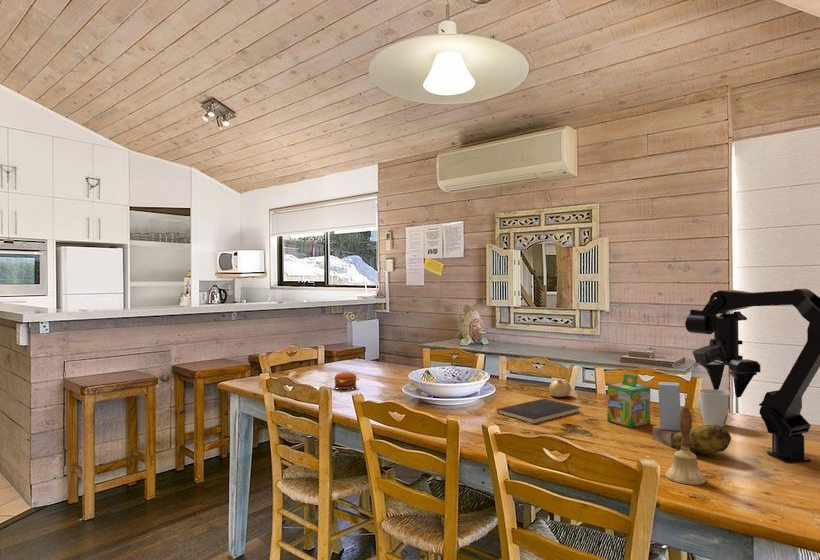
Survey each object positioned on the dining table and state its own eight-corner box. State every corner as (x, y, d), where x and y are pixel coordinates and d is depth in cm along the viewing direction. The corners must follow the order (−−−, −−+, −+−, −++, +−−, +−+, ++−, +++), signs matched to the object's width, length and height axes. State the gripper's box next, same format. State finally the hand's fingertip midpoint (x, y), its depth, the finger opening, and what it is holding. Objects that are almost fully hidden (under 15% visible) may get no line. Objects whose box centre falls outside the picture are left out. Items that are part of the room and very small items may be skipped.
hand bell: (692, 470, 122) (691, 402, 122) (714, 484, 114) (713, 411, 114) (657, 471, 122) (656, 403, 122) (677, 485, 113) (676, 412, 113)
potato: (689, 444, 140) (688, 415, 140) (737, 459, 129) (736, 427, 129) (667, 449, 137) (667, 419, 137) (715, 465, 125) (714, 431, 125)
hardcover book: (580, 413, 176) (580, 406, 176) (533, 425, 163) (533, 418, 163) (542, 404, 189) (542, 398, 189) (496, 415, 176) (496, 408, 176)
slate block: (681, 426, 144) (679, 382, 144) (680, 431, 140) (678, 385, 140) (661, 424, 146) (659, 381, 147) (660, 429, 142) (658, 384, 142)
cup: (734, 429, 153) (734, 395, 153) (704, 428, 155) (704, 394, 155) (724, 421, 161) (723, 389, 161) (695, 420, 163) (694, 388, 163)
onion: (545, 395, 202) (545, 376, 202) (565, 393, 203) (564, 375, 203) (555, 399, 194) (554, 380, 194) (575, 398, 195) (574, 379, 195)
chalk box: (606, 421, 164) (605, 374, 164) (625, 417, 168) (625, 371, 168) (632, 428, 156) (631, 379, 156) (651, 424, 160) (651, 375, 160)
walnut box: (693, 446, 140) (693, 431, 140) (671, 448, 138) (670, 433, 138) (674, 438, 147) (674, 424, 147) (652, 440, 145) (652, 426, 145)
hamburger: (342, 391, 214) (342, 375, 214) (330, 388, 221) (329, 372, 221) (361, 388, 220) (361, 372, 220) (349, 384, 227) (348, 369, 227)
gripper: (678, 333, 152) (678, 386, 152) (719, 340, 133) (720, 402, 133) (715, 332, 152) (716, 386, 152) (761, 340, 134) (762, 401, 134)
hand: (726, 393), depth 143 cm, fingers open, 9 cm apart
